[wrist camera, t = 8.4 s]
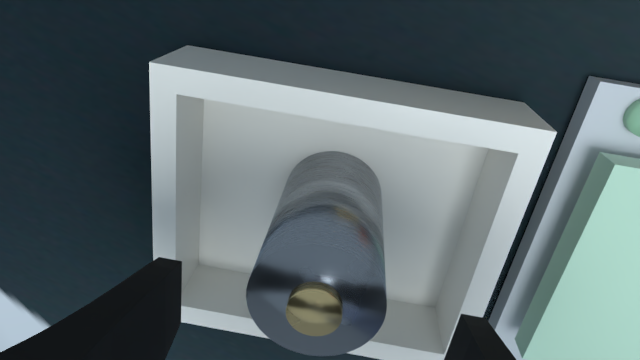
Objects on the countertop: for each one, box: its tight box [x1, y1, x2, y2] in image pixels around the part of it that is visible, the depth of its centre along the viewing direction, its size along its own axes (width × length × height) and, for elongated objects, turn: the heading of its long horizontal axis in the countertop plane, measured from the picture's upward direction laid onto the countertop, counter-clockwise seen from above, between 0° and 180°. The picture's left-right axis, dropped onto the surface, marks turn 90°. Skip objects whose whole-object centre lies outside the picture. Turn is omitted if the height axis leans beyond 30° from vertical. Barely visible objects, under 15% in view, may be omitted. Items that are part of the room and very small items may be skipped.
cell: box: [246, 151, 387, 356], centre depth 14 cm, size 4×4×6 cm
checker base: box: [488, 76, 640, 360], centre depth 17 cm, size 12×7×1 cm, turn 172°
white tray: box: [149, 45, 557, 360], centre depth 16 cm, size 10×12×3 cm
